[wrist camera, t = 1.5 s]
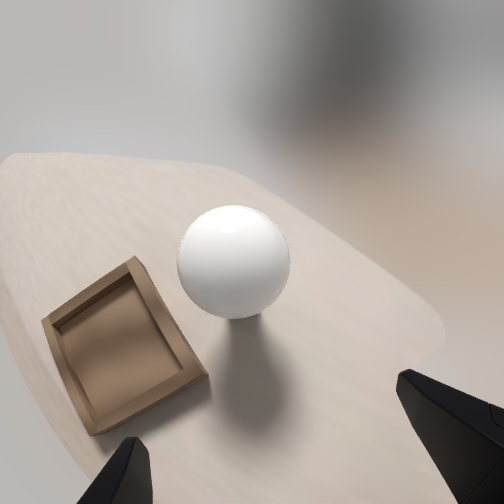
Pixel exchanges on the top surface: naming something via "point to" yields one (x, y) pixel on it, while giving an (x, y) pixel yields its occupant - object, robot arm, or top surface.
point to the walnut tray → (119, 349)
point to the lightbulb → (233, 262)
